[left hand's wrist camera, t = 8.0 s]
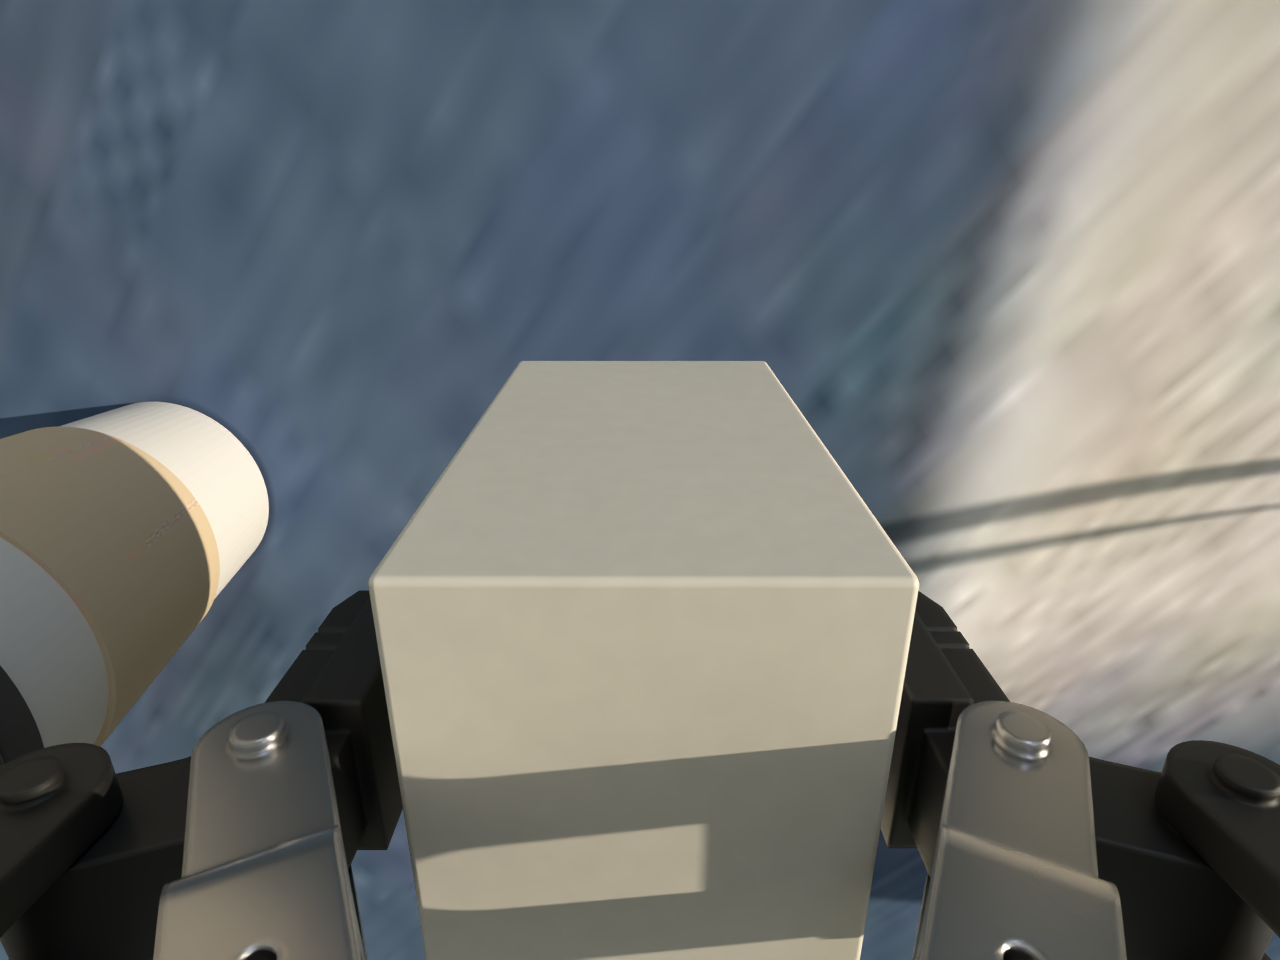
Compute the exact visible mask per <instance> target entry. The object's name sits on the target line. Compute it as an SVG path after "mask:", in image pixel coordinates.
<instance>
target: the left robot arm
mask: <svg viewBox="0 0 1280 960" xmlns="http://www.w3.org/2000/svg"><path fill="white" fill-rule="evenodd" d="M402 809H403V805H402V798H401V792H400V786H399V779H398V773H397V766H396V760H395V753H394V747H393V741H392V734H391V728H390V721H389V715H388V708H387V702H386V696H385V689H384V683H383V676H382V670H381V663H380V657H379V651H378V644H377V638H376V631H375V625H374V618H373V612H372V606H371V599H370V593H369V591H358V592H356V593H355V594H353V595H352V596H351V597H349V598H348V599H346V600H345V601H343V602H342V603H340V604H339V605H337V606H336V607H334V608H333V609H332V611H331V612H330V613H329V615H328V616H327V617H326V619H325V620H324V622H323V623H322V624H321V626H320V627H319V628H318V633H315V634H314V635H313V637H312V638H311V639H310V641H309V642H308V644H307V645H306V650H303V651H302V652H301V653H300V655H299V656H298V657H297V659H296V660H295V662H294V663H293V664H292V666H291V667H290V668H289V670H288V671H287V673H286V674H285V675H284V677H283V678H282V679H281V681H280V682H279V684H278V685H277V686H276V688H275V689H274V691H273V692H272V693H271V695H270V696H269V697H268V699H267V700H266V702H265V703H262V704H258V705H255V706H251V707H248V708H245V709H243V710H241V711H238V712H236V713H234V714H232V715H230V716H228V717H226V718H224V719H223V720H221V721H220V722H218V723H217V724H215V725H214V726H213V727H212V728H210V729H209V730H208V731H207V732H206V733H205V734H204V735H203V736H202V737H201V738H200V740H199V741H198V742H197V744H196V745H195V747H194V749H193V752H192V756H191V757H188V758H185V759H181V760H177V761H173V762H168V763H164V764H159V765H155V766H150V767H145V768H141V769H136V770H132V771H127V772H122V773H118V774H115V771H114V768H113V765H112V762H111V759H110V756H109V755H108V753H107V751H105V750H104V749H103V748H102V747H99V746H97V745H94V744H88V743H67V744H60V745H55V746H50V747H46V748H43V749H39V750H36V751H33V752H30V753H27V754H25V755H22V756H20V757H18V758H15V759H13V760H11V761H9V762H7V763H5V764H3V765H1V766H0V940H1V942H2V945H3V947H4V949H5V951H6V953H7V955H8V958H9V960H368V959H367V953H366V947H365V941H364V935H363V929H362V924H361V918H360V912H359V906H358V900H357V894H356V888H355V883H354V878H353V873H352V868H351V863H352V861H353V858H354V856H355V853H356V851H357V850H387V848H388V846H389V843H390V840H391V838H392V835H393V833H394V830H395V827H396V825H397V822H398V819H399V817H400V814H401V812H402ZM881 831H882V833H883V836H884V839H885V841H886V844H887V847H888V848H918V850H919V853H920V855H921V858H922V860H923V862H924V865H925V867H926V869H927V872H928V873H927V878H926V883H925V888H924V894H923V900H922V906H921V912H920V918H919V924H918V929H917V935H916V941H915V947H914V953H913V959H912V960H1271V959H1270V958H1269V957H1268V956H1267V954H1266V953H1265V951H1266V949H1267V947H1268V944H1269V942H1270V940H1271V938H1272V936H1273V933H1274V932H1275V933H1276V934H1277V935H1278V936H1279V937H1280V765H1278V764H1277V763H1275V762H1273V761H1271V760H1269V759H1267V758H1265V757H1263V756H1260V755H1258V754H1256V753H1253V752H1251V751H1248V750H1245V749H1242V748H1239V747H1236V746H1232V745H1228V744H1224V743H1219V742H1213V741H1203V740H1200V741H1187V742H1182V743H1180V744H1177V745H1175V746H1174V747H1173V748H1171V750H1170V751H1169V753H1168V755H1167V758H1166V761H1165V764H1164V767H1163V770H1162V773H1159V772H1155V771H1150V770H1146V769H1141V768H1136V767H1132V766H1127V765H1123V764H1118V763H1113V762H1109V761H1104V760H1100V759H1096V758H1092V757H1089V756H1088V752H1087V749H1086V747H1085V745H1084V744H1083V742H1082V741H1081V740H1080V738H1079V737H1078V736H1077V735H1076V734H1075V733H1074V732H1073V731H1072V730H1071V729H1070V728H1068V727H1067V726H1066V725H1065V724H1063V723H1062V722H1060V721H1059V720H1057V719H1056V718H1054V717H1052V716H1050V715H1048V714H1046V713H1044V712H1042V711H1039V710H1037V709H1035V708H1032V707H1029V706H1025V705H1022V704H1018V703H1013V702H1010V701H1009V699H1008V698H1007V697H1006V695H1005V694H1004V692H1003V691H1002V690H1001V688H1000V687H999V685H998V684H997V683H996V681H995V680H994V679H993V677H992V676H991V674H990V673H989V672H988V670H987V669H986V667H985V666H984V665H983V663H982V662H981V660H980V659H979V658H978V656H977V655H976V653H975V652H974V651H973V649H969V644H968V642H967V641H966V639H965V638H964V637H963V635H962V634H961V632H957V627H956V625H955V624H954V623H953V621H952V620H951V619H950V617H949V616H948V614H947V613H946V612H945V610H944V609H943V607H941V606H940V605H938V604H937V603H935V602H934V601H932V600H931V599H930V598H928V597H927V596H925V595H924V594H922V593H921V592H919V591H918V596H917V602H916V608H915V614H914V621H913V627H912V633H911V640H910V646H909V652H908V658H907V665H906V671H905V677H904V684H903V690H902V696H901V702H900V709H899V715H898V721H897V728H896V734H895V740H894V746H893V753H892V759H891V765H890V772H889V778H888V784H887V790H886V797H885V803H884V809H883V816H882V822H881Z"/></svg>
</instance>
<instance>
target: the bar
mask: <svg viewBox="0 0 1280 960" xmlns="http://www.w3.org/2000/svg"><path fill="white" fill-rule="evenodd" d="M368 586H369V593H370V599H371V606H372V612H373V618H374V625H375V631H376V638H377V644H378V651H379V657H380V663H381V670H382V676H383V683H384V689H385V696H386V702H387V708H388V715H389V721H390V728H391V734H392V741H393V747H394V753H395V760H396V766H397V773H398V779H399V786H400V792H401V798H402V805H403V811H404V818H405V824H406V831H407V837H408V843H409V850H410V856H411V863H412V869H413V876H414V882H415V889H416V895H417V901H418V908H419V914H420V921H421V927H422V934H423V940H424V946H425V953H426V959H427V960H860V954H861V948H862V941H863V935H864V929H865V922H866V916H867V910H868V904H869V897H870V891H871V885H872V878H873V872H874V866H875V860H876V853H877V847H878V841H879V834H880V828H881V822H882V816H883V809H884V803H885V797H886V790H887V784H888V778H889V772H890V765H891V759H892V753H893V746H894V740H895V734H896V728H897V721H898V715H899V709H900V702H901V696H902V690H903V684H904V677H905V671H906V665H907V658H908V652H909V646H910V640H911V633H912V627H913V621H914V614H915V608H916V602H917V596H918V589H919V582H918V578H917V577H916V575H915V574H914V572H913V571H912V569H911V568H910V567H909V565H908V564H907V562H906V561H905V560H904V558H903V557H902V555H901V554H900V552H899V551H898V550H897V548H896V547H895V545H894V544H893V542H892V541H891V540H890V538H889V537H888V535H887V534H886V533H885V531H884V530H883V528H882V527H881V525H880V524H879V523H878V521H877V520H876V518H875V517H874V515H873V514H872V513H871V511H870V510H869V508H868V507H867V506H866V504H865V503H864V501H863V500H862V498H861V497H860V496H859V494H858V493H857V491H856V490H855V488H854V487H853V486H852V484H851V483H850V481H849V480H848V479H847V477H846V476H845V474H844V473H843V471H842V470H841V469H840V467H839V466H838V464H837V463H836V461H835V460H834V459H833V457H832V456H831V454H830V453H829V452H828V450H827V449H826V447H825V446H824V444H823V443H822V442H821V440H820V439H819V437H818V436H817V434H816V433H815V432H814V430H813V429H812V427H811V426H810V425H809V423H808V422H807V420H806V419H805V417H804V416H803V415H802V413H801V412H800V410H799V409H798V407H797V406H796V405H795V403H794V402H793V400H792V399H791V398H790V396H789V395H788V393H787V392H786V390H785V389H784V388H783V386H782V385H781V383H780V382H779V380H778V379H777V378H776V376H775V375H774V373H773V372H772V371H771V369H770V368H769V366H768V365H767V363H766V362H763V361H522V362H520V363H519V364H518V365H517V367H516V368H515V370H514V371H513V373H512V374H511V376H510V377H509V378H508V380H507V381H506V383H505V384H504V386H503V387H502V388H501V390H500V391H499V393H498V394H497V396H496V397H495V398H494V400H493V401H492V403H491V404H490V406H489V407H488V409H487V410H486V411H485V413H484V414H483V416H482V417H481V419H480V420H479V421H478V423H477V424H476V426H475V427H474V429H473V430H472V432H471V433H470V434H469V436H468V437H467V439H466V440H465V442H464V443H463V444H462V446H461V447H460V449H459V450H458V452H457V453H456V454H455V456H454V457H453V459H452V460H451V462H450V463H449V465H448V466H447V467H446V469H445V470H444V472H443V473H442V475H441V476H440V477H439V479H438V480H437V482H436V483H435V485H434V486H433V488H432V489H431V490H430V492H429V493H428V495H427V496H426V498H425V499H424V500H423V502H422V503H421V505H420V506H419V508H418V509H417V510H416V512H415V513H414V515H413V516H412V518H411V519H410V521H409V522H408V523H407V525H406V526H405V528H404V529H403V531H402V532H401V533H400V535H399V536H398V538H397V539H396V541H395V542H394V544H393V545H392V546H391V548H390V549H389V551H388V552H387V554H386V555H385V556H384V558H383V559H382V561H381V562H380V564H379V565H378V567H377V568H376V569H375V571H374V572H373V574H372V575H371V577H370V579H369V582H368Z"/></svg>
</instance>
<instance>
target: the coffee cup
mask: <svg viewBox="0 0 1280 960" xmlns="http://www.w3.org/2000/svg"><path fill="white" fill-rule="evenodd" d="M268 514H269V503H268V495H267V490H266V486H265V483H264V480H263V477H262V475H261V472H260V470H259V468H258V466H257V464H256V463H255V461H254V459H253V458H252V456H251V455H250V453H249V452H248V451H247V449H246V448H245V447H244V446H243V444H242V443H241V442H240V441H239V440H238V439H237V438H236V437H235V436H234V435H233V434H232V433H231V432H229V431H228V430H227V429H226V428H224V427H223V426H222V425H220V424H219V423H218V422H216V421H214V420H213V419H211V418H210V417H208V416H206V415H204V414H202V413H200V412H198V411H195V410H193V409H190V408H187V407H184V406H181V405H176V404H172V403H165V402H140V403H134V404H130V405H127V406H123V407H120V408H117V409H114V410H110V411H107V412H104V413H101V414H97V415H94V416H91V417H88V418H84V419H81V420H78V421H75V422H72V423H68V424H65V425H62V426H59V427H44V428H38V429H33V430H29V431H25V432H22V433H19V434H15V435H12V436H9V437H5V438H2V439H0V766H1V765H3V764H5V763H7V762H9V761H11V760H13V759H15V758H18V757H20V756H22V755H25V754H27V753H30V752H33V751H36V750H39V749H43V748H46V747H50V746H55V745H60V744H67V743H88V744H94V745H97V746H99V747H101V745H102V744H103V743H104V742H105V740H106V739H107V738H108V737H109V735H110V734H111V733H112V732H113V730H114V729H115V728H116V727H117V725H118V724H119V723H120V722H121V720H122V719H123V718H124V717H125V715H126V714H127V713H128V712H129V710H130V709H131V708H132V707H133V705H134V704H135V703H136V702H137V700H138V699H139V698H140V697H141V695H142V694H143V693H144V692H145V690H146V689H147V688H148V687H149V685H150V684H151V683H152V682H153V680H154V679H155V678H156V677H157V675H158V674H159V673H160V672H161V670H162V669H163V668H164V667H165V665H166V664H167V663H168V662H169V660H170V659H171V658H172V657H173V656H174V654H175V653H176V652H177V651H178V649H179V648H180V647H181V646H182V644H183V643H184V642H185V641H186V639H187V638H188V637H189V636H190V634H191V633H192V632H193V631H194V629H195V628H196V627H197V626H198V624H199V623H200V622H201V621H202V619H203V618H204V617H205V615H206V614H207V612H208V611H209V609H210V607H211V605H212V603H213V601H214V599H215V598H216V596H217V595H218V594H219V593H220V592H221V590H222V589H223V588H224V587H225V586H226V584H227V583H228V582H229V581H230V580H231V578H232V577H233V576H234V575H235V574H236V572H237V571H238V570H239V569H240V568H241V566H242V565H243V564H244V563H245V562H246V560H247V559H248V558H249V557H250V556H251V554H252V553H253V552H254V551H255V550H256V548H257V547H258V545H259V544H260V542H261V540H262V538H263V536H264V533H265V530H266V526H267V522H268Z"/></svg>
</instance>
